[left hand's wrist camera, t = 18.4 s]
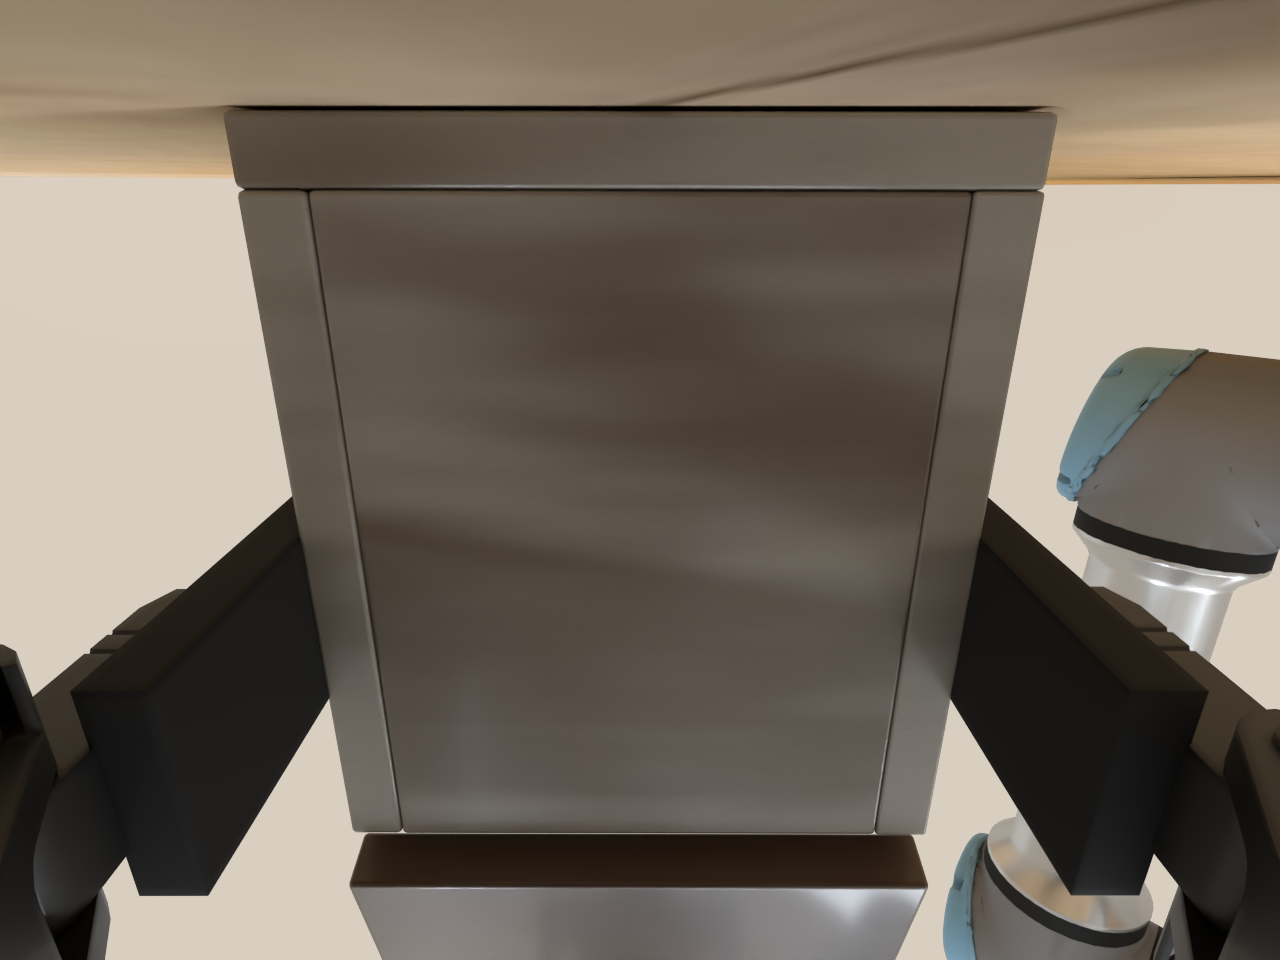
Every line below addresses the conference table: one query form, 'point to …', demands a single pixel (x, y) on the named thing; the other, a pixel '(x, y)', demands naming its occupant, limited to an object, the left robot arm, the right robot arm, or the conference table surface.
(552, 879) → the lid
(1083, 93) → the conference table surface
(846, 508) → the chest
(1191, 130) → the conference table surface
